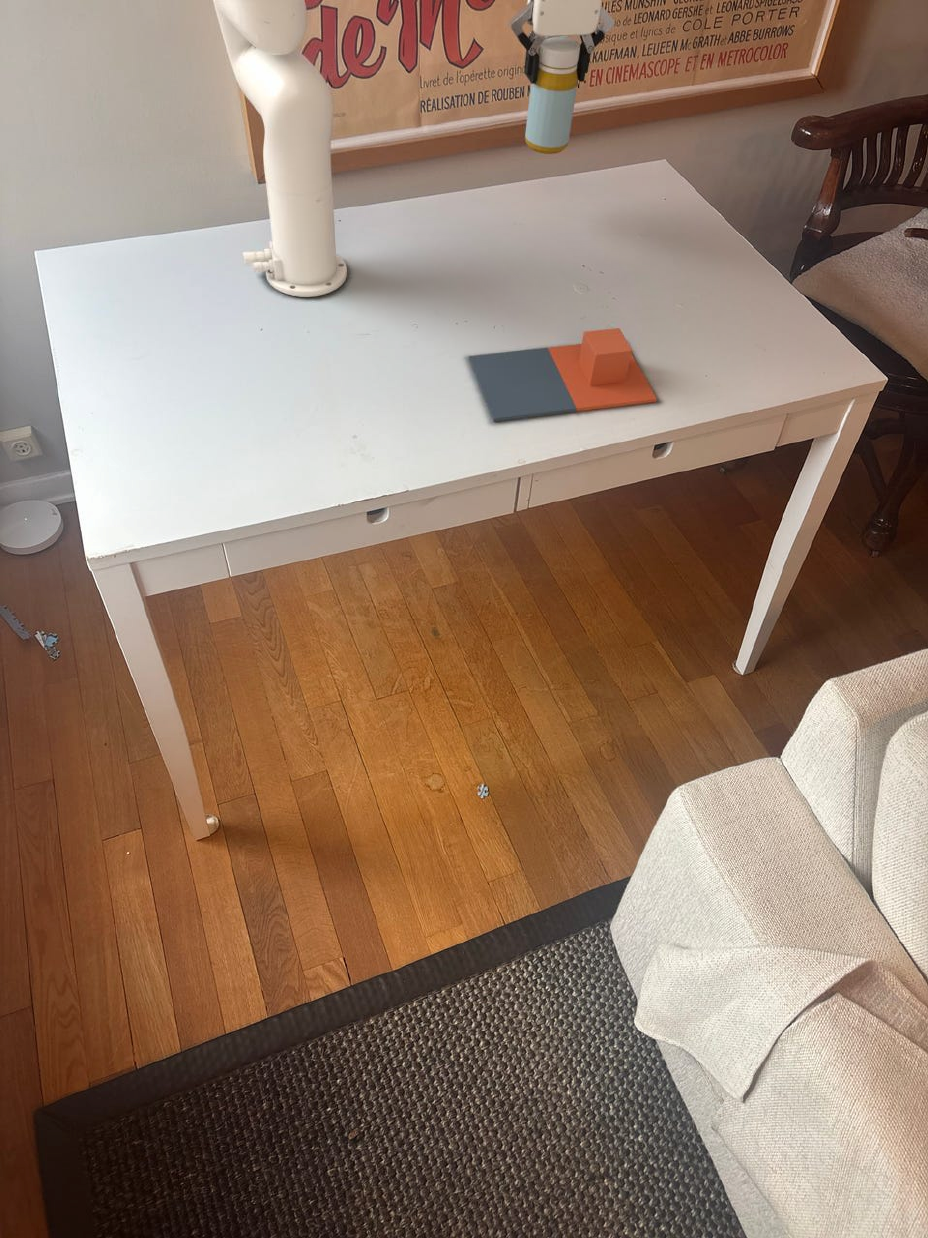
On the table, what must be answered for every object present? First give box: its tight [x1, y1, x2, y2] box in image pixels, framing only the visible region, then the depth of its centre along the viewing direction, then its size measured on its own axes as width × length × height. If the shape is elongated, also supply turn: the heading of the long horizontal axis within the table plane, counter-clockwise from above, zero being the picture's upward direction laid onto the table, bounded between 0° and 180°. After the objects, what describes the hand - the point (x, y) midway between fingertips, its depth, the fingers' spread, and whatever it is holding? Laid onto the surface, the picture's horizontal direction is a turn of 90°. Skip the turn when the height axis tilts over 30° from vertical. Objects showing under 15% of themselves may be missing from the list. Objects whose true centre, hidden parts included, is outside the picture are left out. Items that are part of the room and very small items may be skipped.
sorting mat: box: [468, 343, 658, 423], centre depth 138 cm, size 24×14×1 cm, turn 104°
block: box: [578, 327, 633, 386], centre depth 137 cm, size 5×5×5 cm
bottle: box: [524, 36, 581, 155], centre depth 149 cm, size 7×7×15 cm
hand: (555, 77), depth 147 cm, fingers closed on bottle, 7 cm apart
